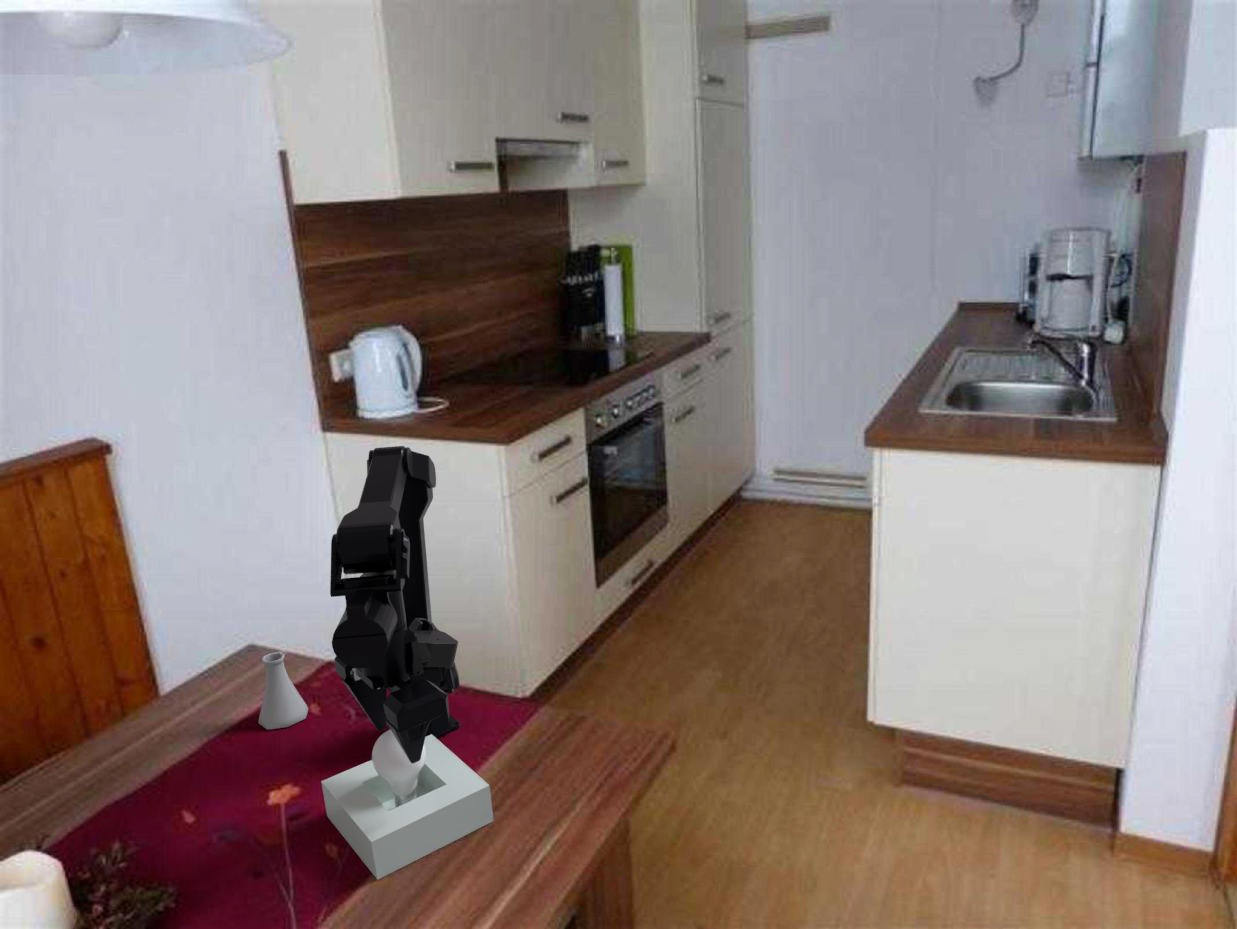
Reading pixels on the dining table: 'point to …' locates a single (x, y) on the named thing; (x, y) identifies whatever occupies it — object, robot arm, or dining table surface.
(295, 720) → the flask
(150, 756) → the dining table surface
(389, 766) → the lightbulb
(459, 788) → the socket block
